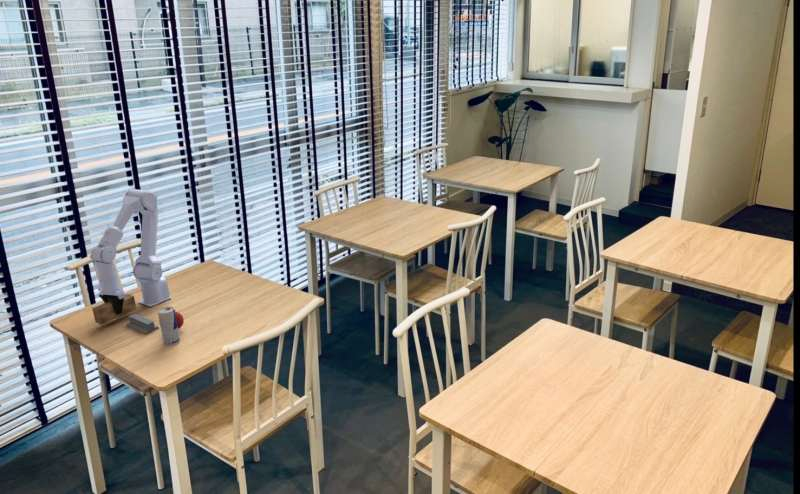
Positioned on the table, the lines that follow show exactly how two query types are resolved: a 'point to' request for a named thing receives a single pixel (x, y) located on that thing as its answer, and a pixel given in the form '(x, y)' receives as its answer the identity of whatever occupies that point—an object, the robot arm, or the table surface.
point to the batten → (107, 312)
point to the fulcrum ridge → (141, 324)
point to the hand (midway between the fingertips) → (115, 312)
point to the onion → (179, 319)
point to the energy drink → (169, 326)
